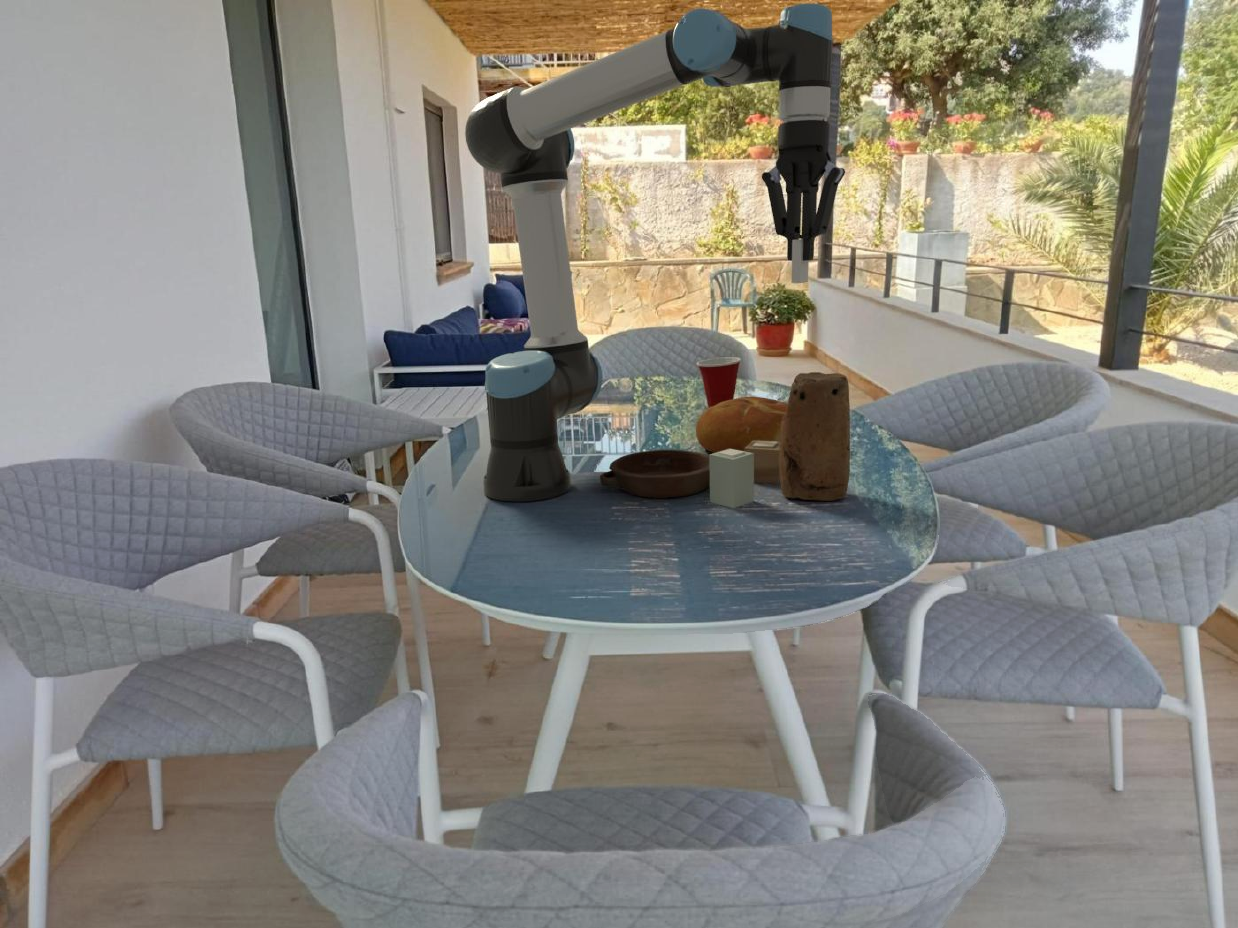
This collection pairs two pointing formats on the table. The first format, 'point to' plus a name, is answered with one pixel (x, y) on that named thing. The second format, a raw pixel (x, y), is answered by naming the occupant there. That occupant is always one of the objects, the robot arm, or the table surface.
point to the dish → (659, 473)
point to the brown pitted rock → (816, 438)
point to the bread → (740, 423)
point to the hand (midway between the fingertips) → (799, 282)
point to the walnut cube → (765, 460)
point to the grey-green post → (731, 478)
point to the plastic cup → (719, 378)
